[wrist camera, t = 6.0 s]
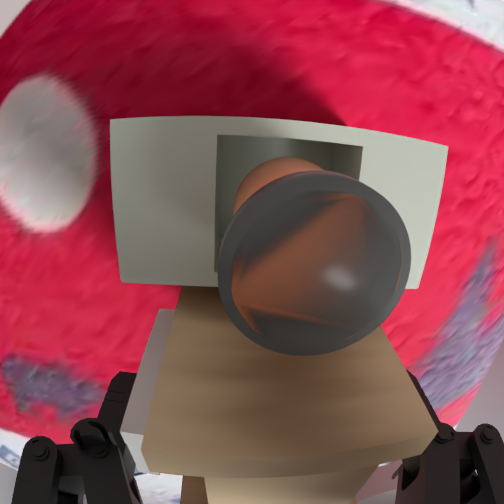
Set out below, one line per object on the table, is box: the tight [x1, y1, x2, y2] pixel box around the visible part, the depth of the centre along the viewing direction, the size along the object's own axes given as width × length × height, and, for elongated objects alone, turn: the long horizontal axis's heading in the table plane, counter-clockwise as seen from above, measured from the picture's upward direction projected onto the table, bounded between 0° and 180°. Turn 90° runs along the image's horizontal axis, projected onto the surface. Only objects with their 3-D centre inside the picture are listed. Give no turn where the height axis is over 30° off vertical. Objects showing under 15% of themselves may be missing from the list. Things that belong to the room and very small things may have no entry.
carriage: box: [141, 285, 438, 504], centre depth 13 cm, size 7×7×14 cm
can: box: [355, 460, 403, 504], centre depth 23 cm, size 8×8×12 cm
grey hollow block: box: [110, 116, 448, 289], centre depth 14 cm, size 10×5×10 cm, turn 87°
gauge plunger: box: [218, 157, 411, 356], centre depth 7 cm, size 3×3×4 cm
